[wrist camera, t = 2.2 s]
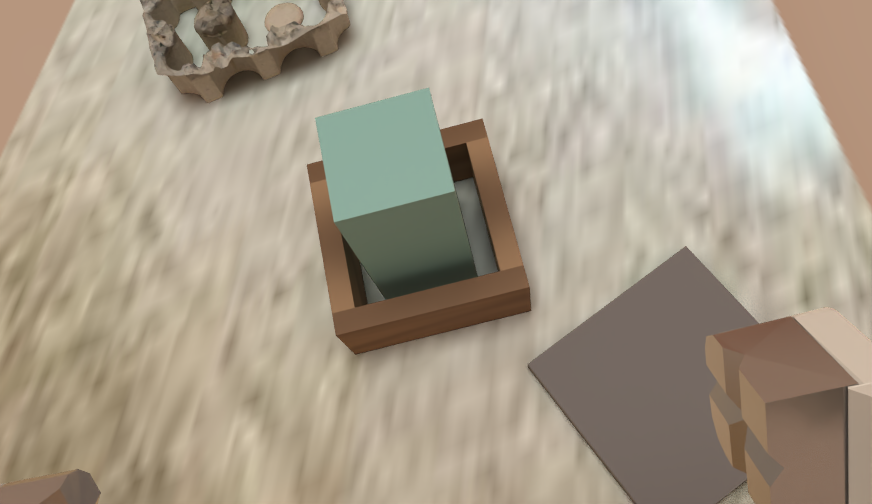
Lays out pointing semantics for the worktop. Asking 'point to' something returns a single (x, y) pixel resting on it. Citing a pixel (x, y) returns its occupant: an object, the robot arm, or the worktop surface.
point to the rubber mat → (650, 384)
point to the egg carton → (233, 41)
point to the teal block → (396, 193)
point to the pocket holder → (434, 306)
